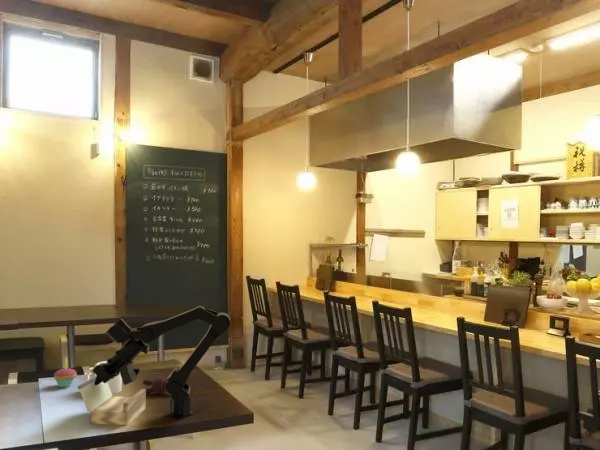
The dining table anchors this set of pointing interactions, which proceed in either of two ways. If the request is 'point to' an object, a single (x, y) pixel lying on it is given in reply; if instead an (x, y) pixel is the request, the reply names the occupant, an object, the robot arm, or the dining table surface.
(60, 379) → the cupcake
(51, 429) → the dining table surface
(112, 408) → the cream and gold block
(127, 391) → the dining table surface
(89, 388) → the panel
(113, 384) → the mug
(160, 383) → the icecream
